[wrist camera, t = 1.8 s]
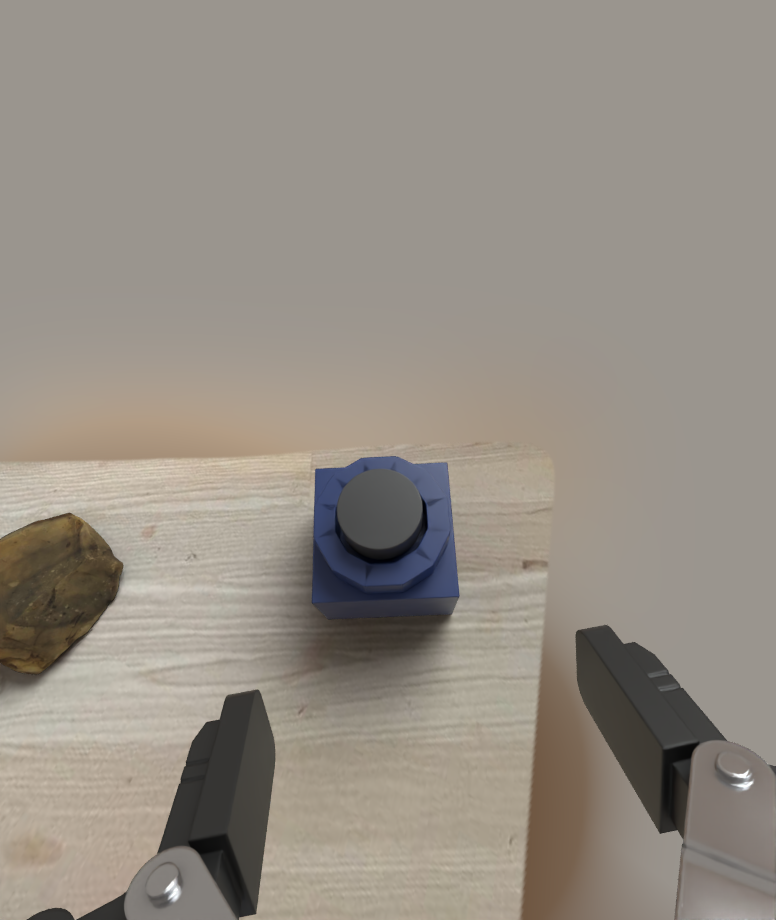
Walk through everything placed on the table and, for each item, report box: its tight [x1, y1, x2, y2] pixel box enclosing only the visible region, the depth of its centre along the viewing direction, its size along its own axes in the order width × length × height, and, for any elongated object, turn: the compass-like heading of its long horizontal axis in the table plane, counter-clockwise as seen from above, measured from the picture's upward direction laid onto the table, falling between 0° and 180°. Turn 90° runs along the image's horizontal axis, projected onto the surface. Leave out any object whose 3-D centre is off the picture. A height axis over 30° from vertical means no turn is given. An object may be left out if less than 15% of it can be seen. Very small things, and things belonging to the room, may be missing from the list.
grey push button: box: [337, 469, 423, 560], centre depth 28 cm, size 4×4×2 cm
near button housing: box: [312, 456, 459, 619], centre depth 32 cm, size 8×8×8 cm
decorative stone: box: [0, 513, 123, 675], centre depth 34 cm, size 10×9×4 cm
